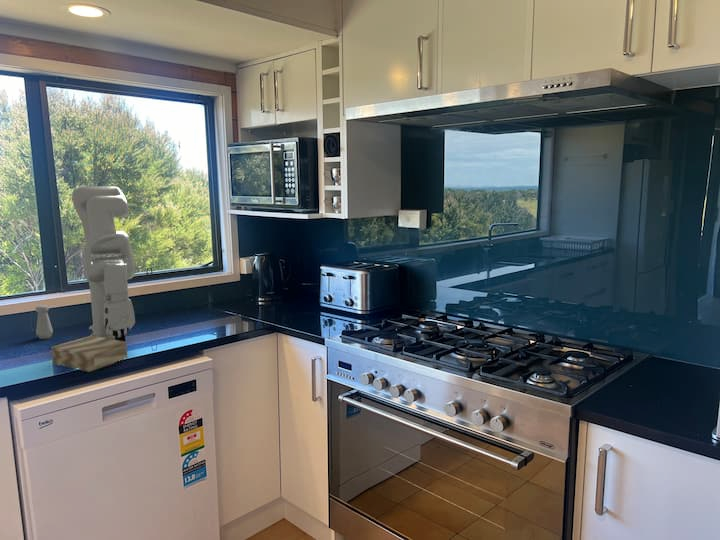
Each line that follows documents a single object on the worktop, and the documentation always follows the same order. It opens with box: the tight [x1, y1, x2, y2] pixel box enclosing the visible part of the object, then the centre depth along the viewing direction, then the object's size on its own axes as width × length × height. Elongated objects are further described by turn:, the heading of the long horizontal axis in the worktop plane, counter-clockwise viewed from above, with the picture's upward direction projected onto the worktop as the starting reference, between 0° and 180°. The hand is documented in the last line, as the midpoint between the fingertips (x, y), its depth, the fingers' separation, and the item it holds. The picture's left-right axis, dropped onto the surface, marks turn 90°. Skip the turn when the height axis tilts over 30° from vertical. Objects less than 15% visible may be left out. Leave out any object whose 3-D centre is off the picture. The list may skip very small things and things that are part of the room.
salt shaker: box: [35, 304, 54, 340], centre depth 211 cm, size 6×6×13 cm
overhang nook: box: [51, 335, 128, 373], centre depth 183 cm, size 18×15×6 cm
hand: (121, 346), depth 194 cm, fingers closed
